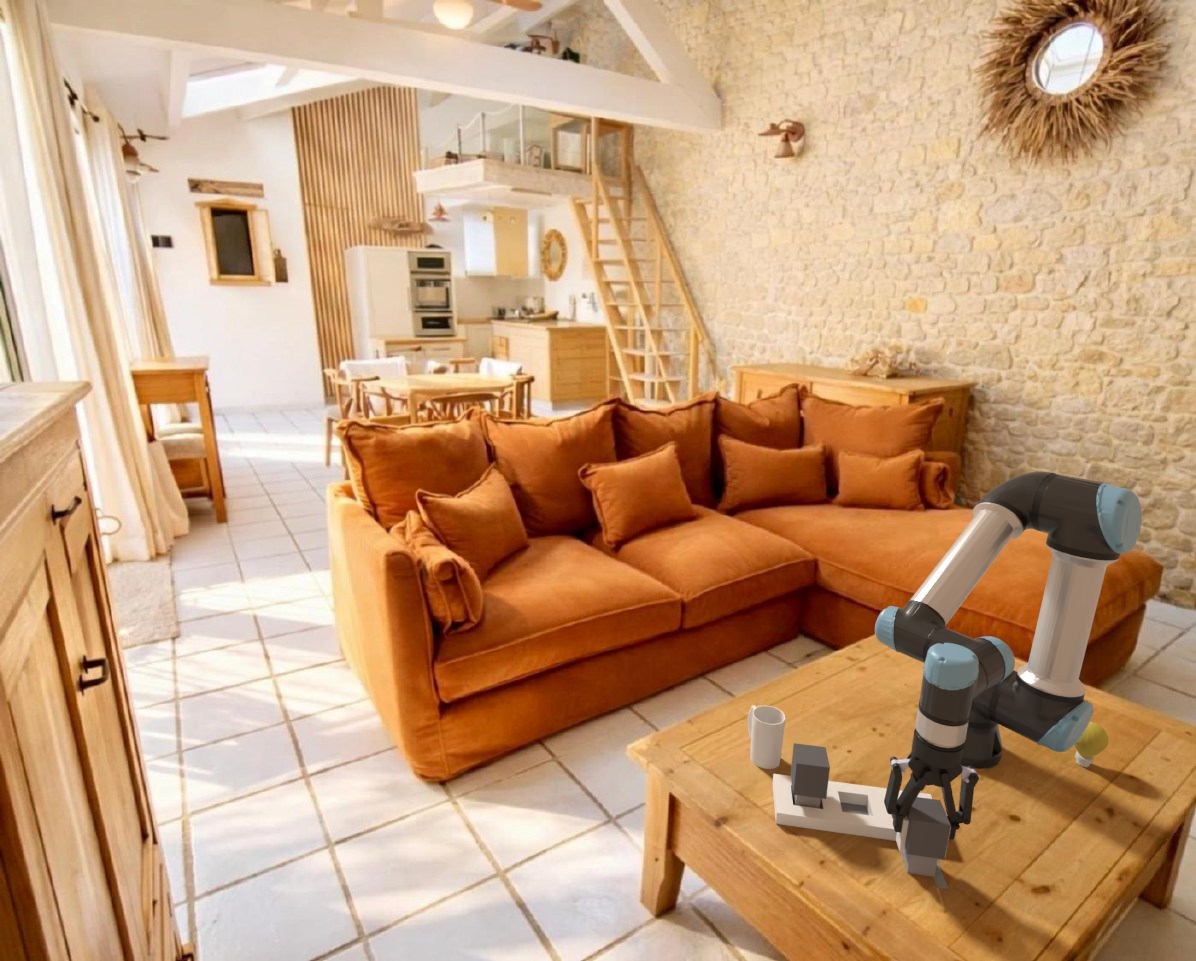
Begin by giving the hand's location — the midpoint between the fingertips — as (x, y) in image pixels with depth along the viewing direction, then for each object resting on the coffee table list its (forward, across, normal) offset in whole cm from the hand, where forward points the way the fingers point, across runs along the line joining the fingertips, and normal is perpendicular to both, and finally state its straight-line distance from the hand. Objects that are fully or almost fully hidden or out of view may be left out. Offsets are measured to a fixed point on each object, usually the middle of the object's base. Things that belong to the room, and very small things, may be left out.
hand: (920, 848), depth 120 cm
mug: (+5, +26, -25) cm, 36 cm away
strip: (+4, +9, -10) cm, 15 cm away
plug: (+4, 0, 0) cm, 4 cm away
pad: (+4, 0, 0) cm, 4 cm away
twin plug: (+3, +18, -10) cm, 21 cm away
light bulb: (+5, -43, -37) cm, 57 cm away
